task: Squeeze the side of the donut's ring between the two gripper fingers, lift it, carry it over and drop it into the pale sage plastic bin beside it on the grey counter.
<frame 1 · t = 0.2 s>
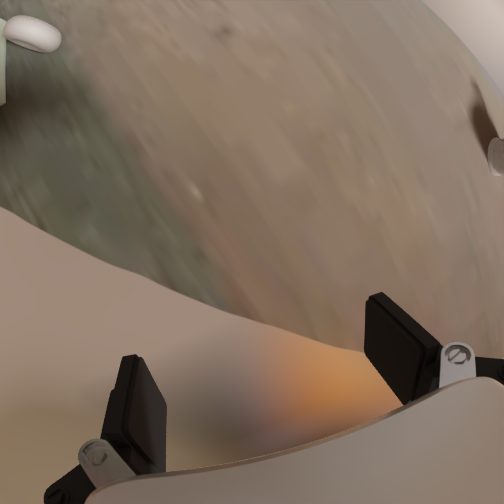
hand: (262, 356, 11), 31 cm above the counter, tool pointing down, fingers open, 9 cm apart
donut: (47, 43, 27), on the counter
glass holder: (495, 144, 45), on the counter
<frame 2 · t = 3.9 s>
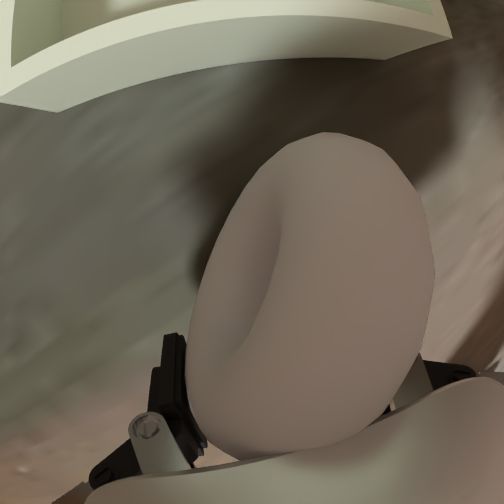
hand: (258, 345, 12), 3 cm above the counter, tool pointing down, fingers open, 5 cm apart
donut: (249, 241, 14), on the counter, touching gripper
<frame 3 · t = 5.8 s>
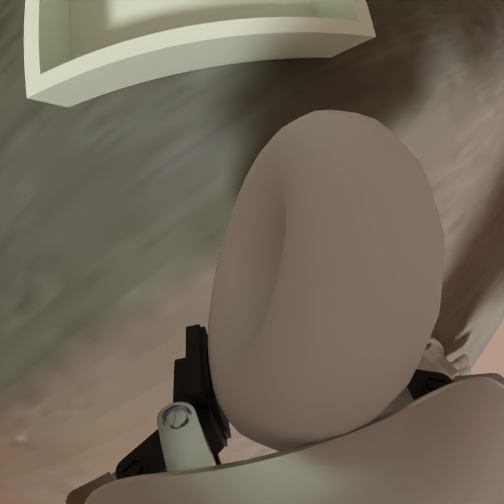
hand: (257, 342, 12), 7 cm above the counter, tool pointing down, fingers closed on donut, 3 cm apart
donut: (258, 230, 14), point 4 cm above the counter, touching gripper
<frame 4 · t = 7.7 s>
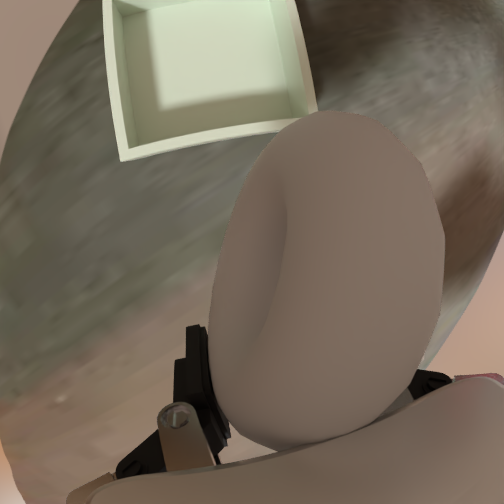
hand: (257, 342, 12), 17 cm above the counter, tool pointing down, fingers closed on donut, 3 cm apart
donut: (258, 230, 14), point 15 cm above the counter, touching gripper
bin: (204, 62, 23), on the counter
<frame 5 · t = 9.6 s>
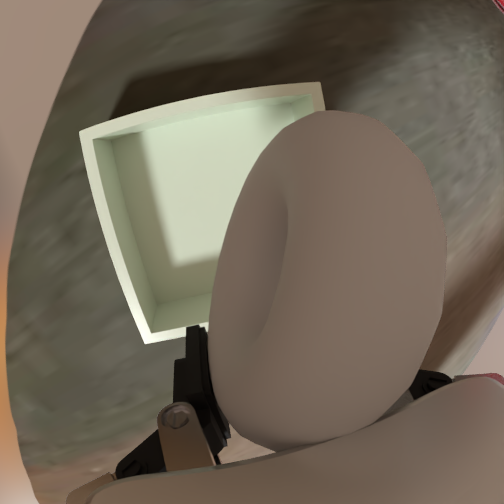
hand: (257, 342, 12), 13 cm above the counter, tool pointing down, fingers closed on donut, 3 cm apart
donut: (258, 230, 14), point 11 cm above the counter, touching gripper
bin: (218, 204, 23), on the counter
when the fingers open (5 cm above the counter, at t = 11.2 s): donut drops 2 cm, resting on bin.
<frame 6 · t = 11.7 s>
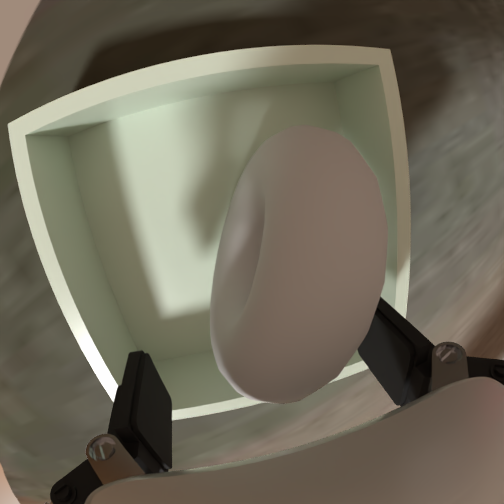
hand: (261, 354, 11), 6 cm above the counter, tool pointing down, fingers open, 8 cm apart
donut: (252, 225, 16), resting on bin
bin: (226, 229, 16), on the counter
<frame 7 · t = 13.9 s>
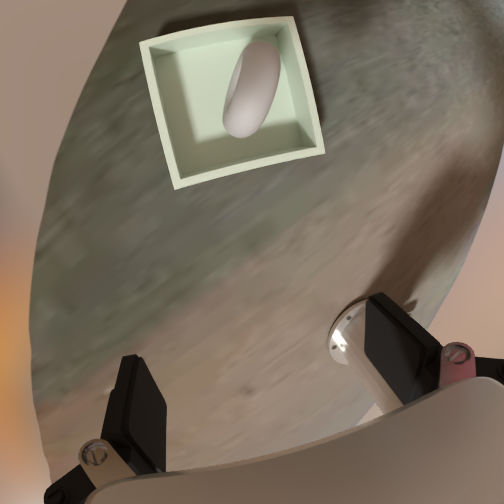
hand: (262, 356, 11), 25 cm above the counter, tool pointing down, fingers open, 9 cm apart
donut: (240, 96, 30), resting on bin
bin: (228, 99, 30), on the counter
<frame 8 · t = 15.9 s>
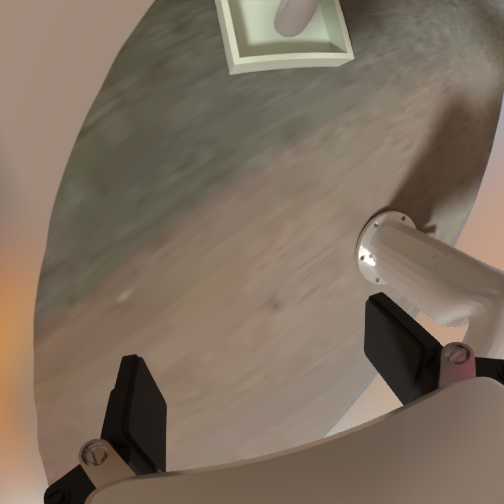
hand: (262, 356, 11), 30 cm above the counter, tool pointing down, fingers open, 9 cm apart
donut: (285, 19, 32), resting on bin
bin: (275, 20, 32), on the counter
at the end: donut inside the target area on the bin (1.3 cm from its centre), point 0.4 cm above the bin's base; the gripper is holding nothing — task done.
